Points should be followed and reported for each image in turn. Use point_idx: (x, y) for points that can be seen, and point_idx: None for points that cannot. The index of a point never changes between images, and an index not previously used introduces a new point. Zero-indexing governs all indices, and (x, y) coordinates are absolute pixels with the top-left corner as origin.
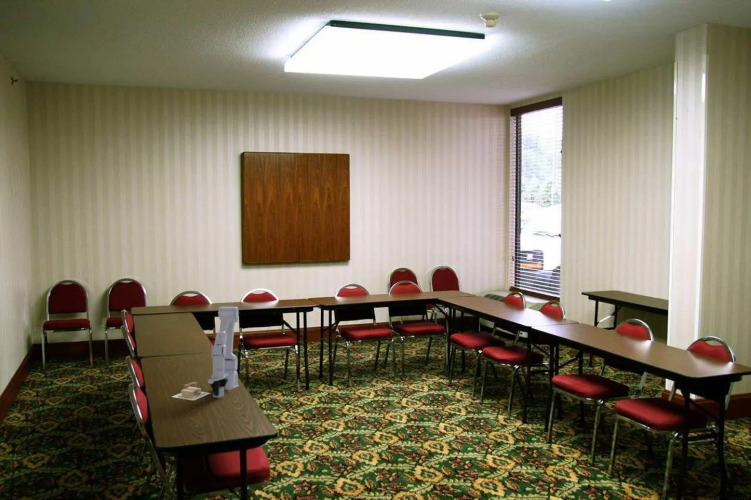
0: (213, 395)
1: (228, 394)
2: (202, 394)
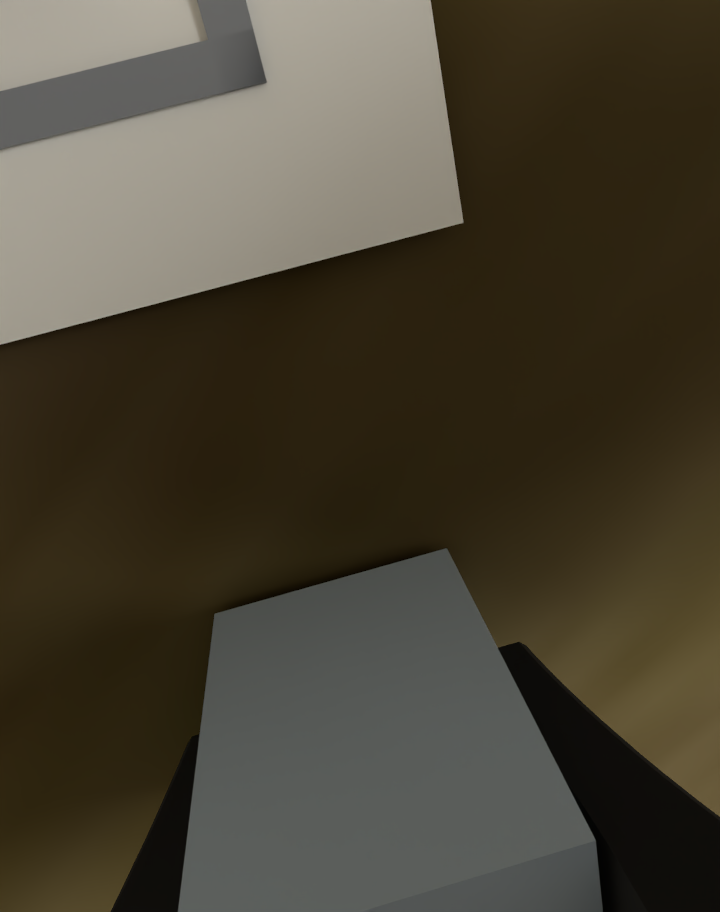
0: (214, 672)
1: (683, 626)
2: (63, 109)
